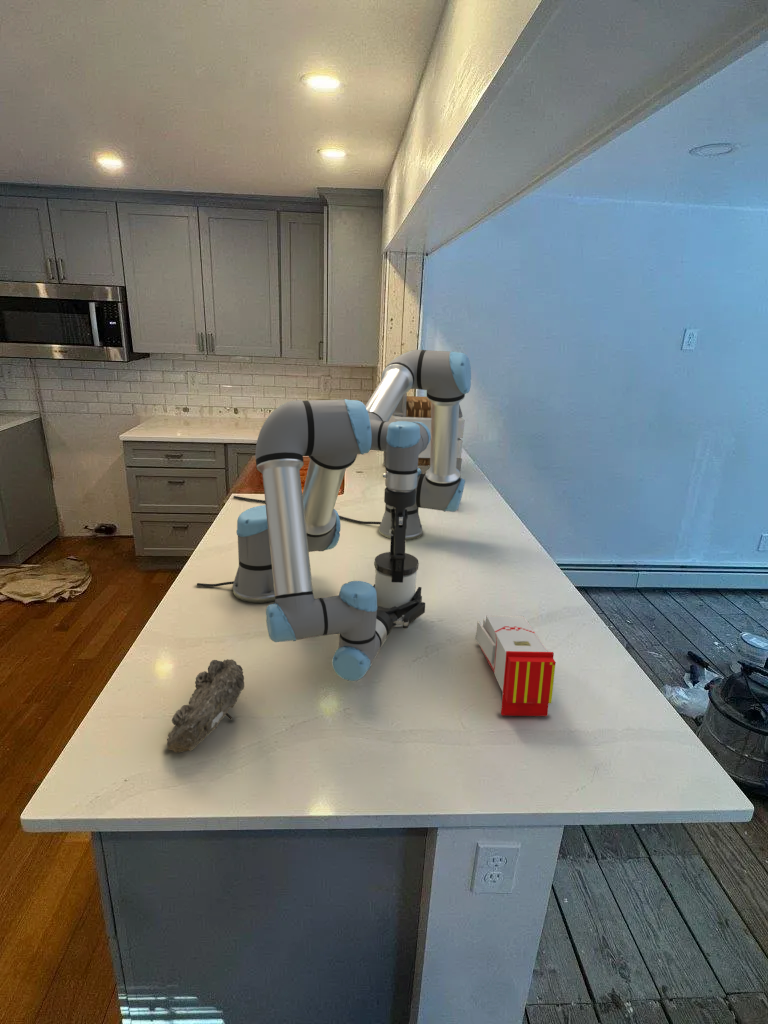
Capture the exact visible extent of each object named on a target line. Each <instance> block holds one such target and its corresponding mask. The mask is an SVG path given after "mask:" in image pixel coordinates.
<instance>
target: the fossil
mask: <svg viewBox="0 0 768 1024" xmlns="http://www.w3.org/2000/svg"><path fill="white" fill-rule="evenodd" d="M243 670H244V669H243V667H242V665H240V664H237V662H236V661H235V660H234V659H232V658H231V659H227V658H226V659H224V660H223V661H222V660H217V659H212V660H211V661H210V663H209V665H208V666H207V671H201V672H199V673H198V674H197V675H196V676H195V680H194V684H195V685H194V687H195V689H194V690H193V693H192V694H191V697H190V698H189V700H188V704H184V705H182V706H181V707H180V709H177V710H176V711H175V713H174V715H173V716H172V718H171V723H172V724H173V727H172V730H171V731H170V732H168V734H167V738H166V741H167V742H166V745H167V749H168V750H169V751H173V752H174V753H176V754H178V753H182V752H188V751H189V752H192V751H193V750H195V748H196V747H197V746H199V744H200V743H201V742H203V741H204V740H205V739H206V738H207V737H208V736H209V735H210V734H211V733H212V732H214V730H215V729H217V727H218V726H219V724H220V722H221V721H222V720H223V719H224V718H225V716H226V717H227V719H229V720H233V717H232V715H230V714H229V710H230V709H231V708H234V706H235V704H236V703H237V702H238V699H239V697H240V695H241V693H242V691H243V690H245V689H244V688H245V675H244V671H243Z"/></svg>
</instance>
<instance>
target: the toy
mask: <svg viewBox="0 0 768 1024" xmlns="http://www.w3.org/2000/svg"><path fill="white" fill-rule="evenodd" d="M476 622H477V623H476V631H475V640H476V642H477V644H478V646H479V648H480V650H481V652H482V653H483V656H484V658H485V659H486V661H487V663H488V664H489V666H490V668H491V670H492V672H493V673H494V677H495V679H496V681H497V683H498V686H499V688H500V690H501V692H502V696H501V697H502V698H501V710H500V715H501V716H514V717H515V716H517V717H518V716H520V717H523V716H524V717H548V712H549V704H552V700H553V692H554V681H555V672H556V664H557V663H556V661H555V659H554V654H555V653H554V651H548V649H547V648H546V646H545V645H544V644H543V642H542V641H541V639H540V638H539V636H538V635H537V634H536V632H535V630H534V629H533V627H532V626H531V624H530V622H529V621H528V620H527V619H526V617H525V616H524V615H523V616H522V615H521V616H520V615H486V616H485V617H483V621H482V623H481V621H476Z"/></svg>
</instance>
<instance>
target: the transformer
mask: <svg viewBox="0 0 768 1024" xmlns="http://www.w3.org/2000/svg"><path fill="white" fill-rule="evenodd" d="M407 394H408V392H407V393H405V394H404V395H403V396H402V398H401V400H400V402H399V404H398V405H397V407H396V409H395V411H394V412H393V414H392V416H391V418H390V419H389V421H388V422H397V421H407V422H421V423H423V424H425V425H426V426H427V427H428V429H429V431H430V434H431V401H430V400H429V399H428V398H427V396H415V395H414V396H413V395H412V396H411V395H407ZM464 429H465V419H464V418H463V411H462V408H461V405H460V404H459V420H458V440H457V461H456V469H458V470H459V471H460V475H461V472H462V461H463V460H462V453H463V442H464V441H463V440H462V439H463V438H464V431H465V430H464ZM430 450H431V439H430V442H429V444H428V446H427V448H426V449H425V450H424V451H422V452H421V453H420V454H419V456H418V467H430ZM383 466H384V467H386V452H384V451H383Z"/></svg>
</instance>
